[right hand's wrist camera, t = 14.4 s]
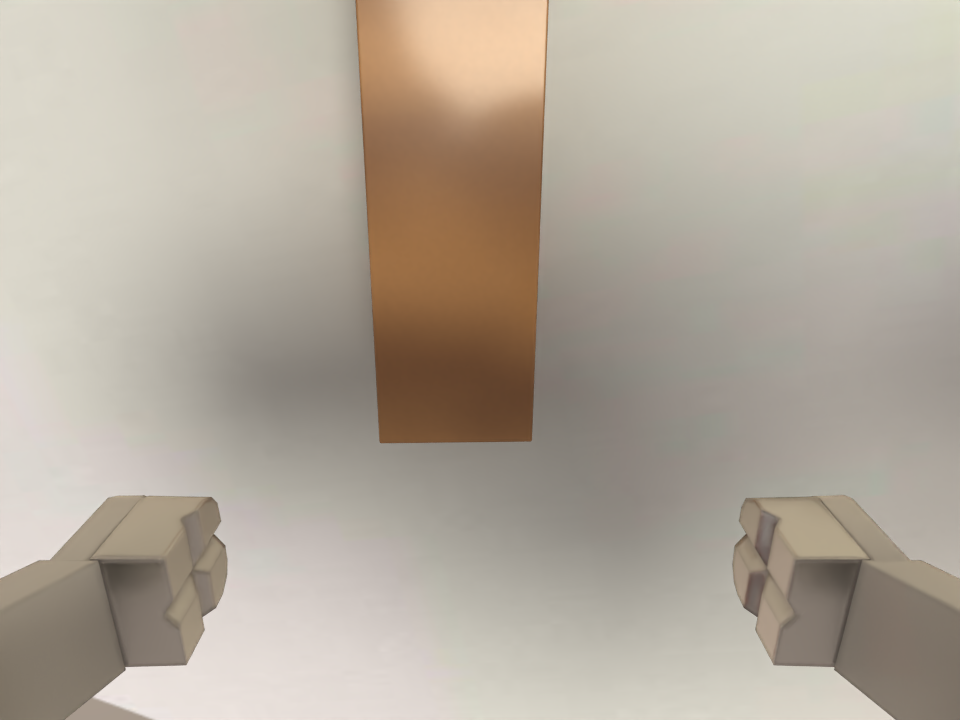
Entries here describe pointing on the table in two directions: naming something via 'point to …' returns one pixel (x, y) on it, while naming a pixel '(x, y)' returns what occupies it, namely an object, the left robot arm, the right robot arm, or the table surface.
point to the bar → (453, 212)
